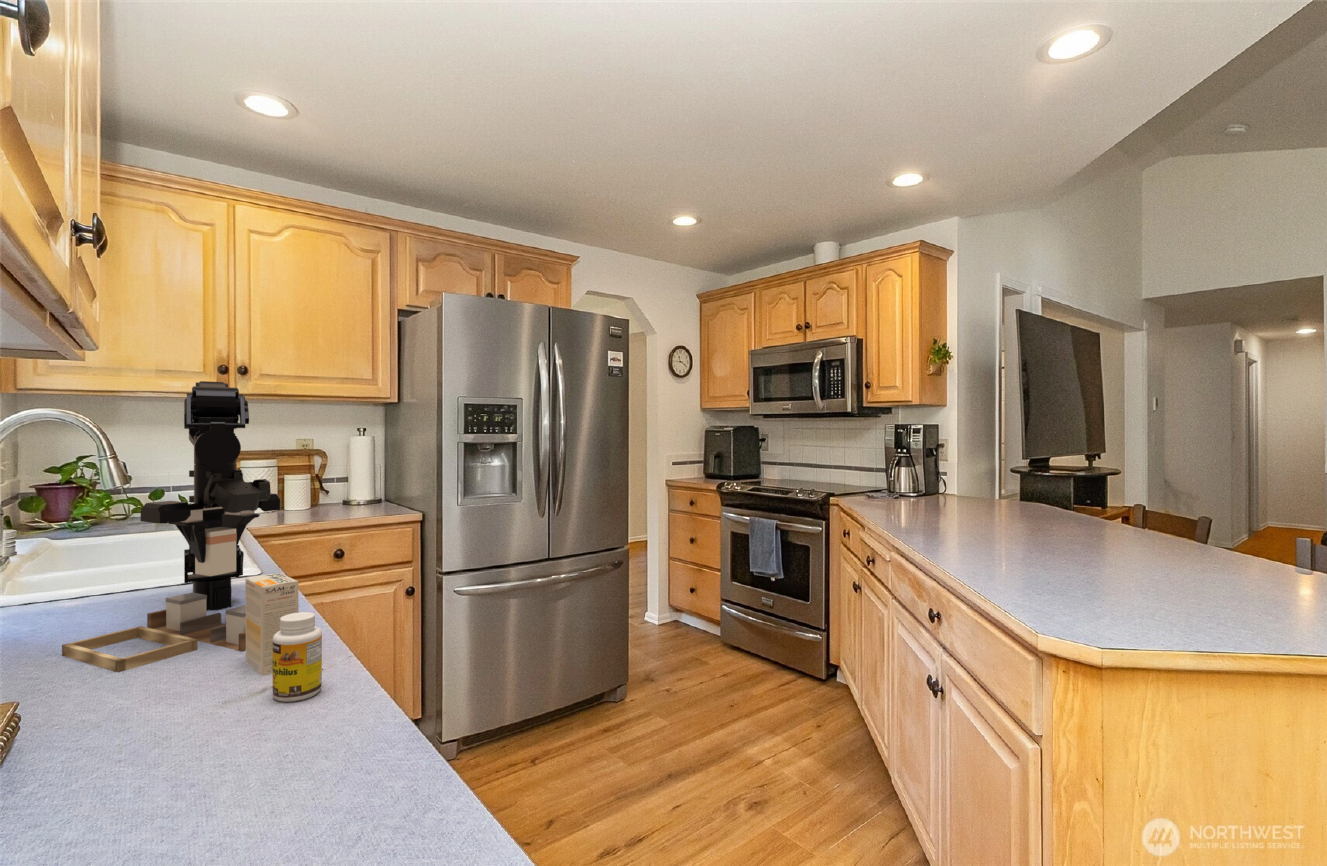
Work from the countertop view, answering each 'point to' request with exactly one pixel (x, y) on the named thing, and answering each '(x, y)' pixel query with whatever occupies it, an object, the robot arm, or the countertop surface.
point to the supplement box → (267, 616)
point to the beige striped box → (218, 552)
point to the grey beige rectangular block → (184, 609)
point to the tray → (87, 655)
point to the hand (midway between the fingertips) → (215, 559)
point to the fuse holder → (198, 629)
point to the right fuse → (235, 623)
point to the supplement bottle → (297, 658)
